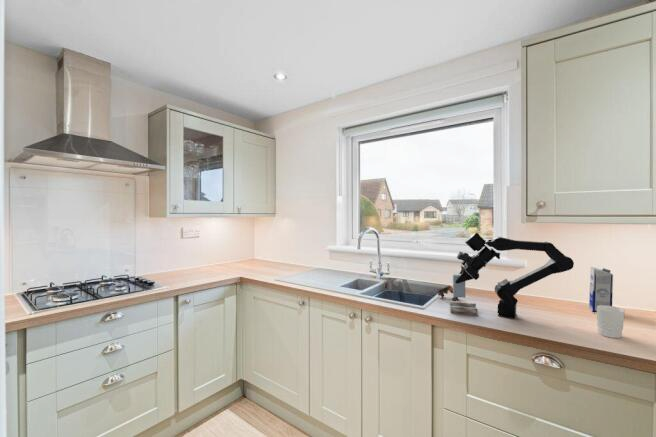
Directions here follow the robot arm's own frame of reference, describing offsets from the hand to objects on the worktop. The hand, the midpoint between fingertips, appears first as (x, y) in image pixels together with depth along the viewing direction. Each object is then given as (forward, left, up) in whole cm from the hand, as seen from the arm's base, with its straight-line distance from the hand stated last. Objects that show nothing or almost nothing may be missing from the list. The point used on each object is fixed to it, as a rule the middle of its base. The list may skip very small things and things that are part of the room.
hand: (455, 281), depth 149 cm
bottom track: (-3, -2, -14) cm, 14 cm away
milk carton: (-52, -41, -14) cm, 67 cm away
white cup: (-54, -8, -14) cm, 56 cm away
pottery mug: (+8, -18, -14) cm, 24 cm away
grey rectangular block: (-1, -1, -7) cm, 7 cm away
